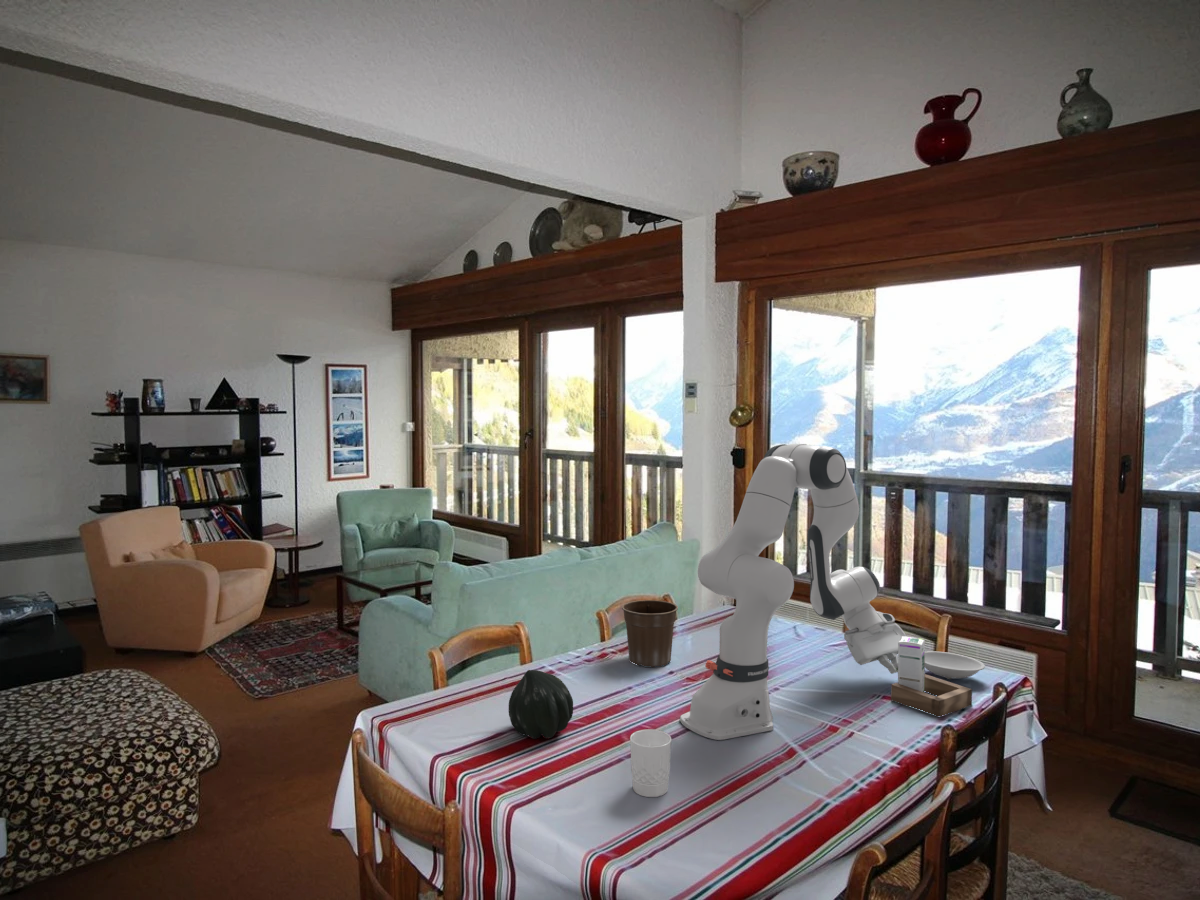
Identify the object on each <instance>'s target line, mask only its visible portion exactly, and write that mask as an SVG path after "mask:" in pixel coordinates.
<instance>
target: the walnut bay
mask: <svg viewBox="0 0 1200 900" xmlns="http://www.w3.org/2000/svg"><path fill="white" fill-rule="evenodd" d="M890 689H891V690H890V701H892V700H893V702H895V701H896V703H898V702H899V703H898V704H900V703H902V704H901V705H903V704H904V705H903V706H906V705H907V706H906V707H909V706H911V707H914V708H917V709H920V710H923V711H925V712H928V713H931V714H934V715H936V716H942V715H945V714H947V715H949V714H948V713H950V714H952V713H954V711H955V712H957V711H961V710H963V709H965V708H968V707H970V706H972V703H973V699H972V698H973V689H972V688H969V687H967V686H963V685H960V684H957V683H954V682H952V681H951V682H950V681H947V680H945V679H941V678H938V677H935V676H933V675H930V674H926V673H925V680H924V691H926V692H929V693H931V694H934V695H937V696H934V695H931V694H928V693H925V692H921V691H918V690H915V689H913V688H910V687H907V686H904V685H901V684H898V682H895V683H891V685H890ZM911 707H910V708H911ZM914 708H913V709H914ZM962 708H963V709H962ZM917 709H916V710H917ZM920 710H919V711H920ZM925 712H924V713H925ZM951 712H952V713H951ZM928 713H927V714H928ZM936 716H935V717H936ZM945 716H946V715H945ZM942 717H943V716H942Z"/></svg>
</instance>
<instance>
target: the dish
mask: <svg viewBox="0 0 1200 900" xmlns="http://www.w3.org/2000/svg"><path fill="white" fill-rule="evenodd" d="M985 668H986V665H985V663H983V662H982V661H980V660H978V659H975V658H973V657H970V656H966V655H962V654H958V653H953V652H947V651H946V652H945V651H938V650H937V651H935V650H929V651H926V650H925V669H926V670H927V671H929V672H930V673H933V674H934V675H937V676H940V677H943V678H944V679H946V678H947V679H946V680H952V679H967V678H970V677H972V676H974V675H976V674H977V673H979V672H980V671H983V670H984V669H985Z"/></svg>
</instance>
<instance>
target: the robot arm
mask: <svg viewBox="0 0 1200 900" xmlns="http://www.w3.org/2000/svg"><path fill="white" fill-rule="evenodd" d="M796 488H798V489H803V490H810V495H811V500H812V506H813V518H812V523H811V525H810V527H809V528H808V530H807V537H806V539H807V555H808V564H809V566H808V567H809V580H810V587H809V601H810V605H811V606H812V608H813V611H814V612H815V613H816V615H818V616H820V617H821V618H824V619H827V620H831V621H832V620H833V621H834V620H836V619H838V618H840V617H842V619H843V622H844V624H845V626H846V628H847V629H848V630H845V631H844V635H843V638H844V640H845V641H846V645H847V648H848V650H849V652H850V654H851V656H852V658H853V659H854V661H855V663H857V664H858V665H859V666H862V665H866V664H869V663H873V662H875V661H878V662H879V664H881V665H882V666H884V668H886V669H887V670H888V672H889V673H890V674H891V675H893V674H895V673H898V642H899V640H900V639H901V638H902V636H905V637H908V636H907V635H906V633H905V632H904V630H903V629H902V627H900V625H899V624H898V623H896V622H895V621H896V619H895V617H894V616H893V615H892V614H890V613H886V612H885V613H884V612H882V611H877V610H876V609H875V608H874V607H873V606H872V605H871V603H870V602H871V601H873V600H875V599H876V598H877V597H878V596H879V591H880V587H881V585H880V581H879V579H878V578H877V576H876V575H875V574H874V572H873V571H872V570H871V569H868V568H867V567H866V566H861V565H858V566H855V567H852V568H849V569H847V570H845V569H837V570H834V571H832V572H831V565H830V554H831V551H832V549H833V548H834V546H835V545H836V544H837V542H838V541H839V540H840V539H841V538H842V537H843V536H844V535H846V533H848V532H849V531H850V530H851V529H852V528H853V527H854V526H855V524H856V523H857V520H858V518H859V516H860V515H859V514H860V505H859V499H858V496H857V492H856V489H855V488H856V487H855V486H854V483H853V479H852V476H851V475H850V472H849V469H848V467H847V463H846V459H845V457H844V455H843V454H842V453H841V451H840V450H838V449H836V448H834V447H831V446H827V445H822V446H820V445H815V444H814V445H813V444H806V443H793V444H791V443H790V444H786V443H785V444H784V443H783V444H782V443H781V444H777V445H774V446H772V447H770V448H769V449H768V450H767V451H766V453H765V454H764V456H763V458H762V459H761V460H760V462H759V463H758V465H757V467H756V469H755V470H754V472H753V474H752V476H751V479H750V480H749V484H748V485H747V488H746V491H745V494H744V498H743V500H742V503H741V507H740V510H739V513H738V514H737V518H736V521H735V522H734V524H733V527H732V528H731V529H730V530H729V532H728V534H727V535H726V536H725V538H724V539H723V540H722V541H721V542H720V543H719V544H718V545H717V546H716V547H714V548H712V549H711V550H709V551H707V552H706V553H704V555H703V556H702V557H701V559H700V561H699V563H698V567H697V575H698V580H699V582H700V584H701V585H702V586H703V587H704V588H706V589H708V590H709V591H711V592H713V593H715V594H717V595H718V596H723V597H725V598H730V599H733V600H735V601H736V602H735V604H736V606H735V609H734V613H733V614H732V615H729V616H728V617H727V618H724V620H722V622H721V623H720V625H719V652H718V653H719V655H718V656H717V658H716V662H714V661H712V660H710V659H709V660H706V662H705V669H707V670H710V671H712V672H713V674H711V676H710V677H709V678H708V679H706V681H705V682H704V684H702V685H701V686H700V687H699V688H698V690H696V692H694V694H693V695H692V698H691V701H690V702H691V703H690V708H689V709H690V710H689V711H687V712H685V713H683V714H681V715H680V718H679V721H680V723H681V724H682V725H683V726H684V727H685V728H687V729H688V730H690V731H691V732H693V733H696V734H698V735H700V736H702V737H705V738H708V739H712V740H716V741H717V740H718V741H724V740H727V739H733V738H738V737H743V736H749V735H754V734H760V733H766V732H771V731H773V730H774V723H773V720H774V717H773V714H772V709H771V703H770V702H771V701H770V692H769V687H768V685H769V684H768V677H769V670H770V666H769V658H768V656H767V654H768V637H769V636H768V635H769V627H770V623H771V621H772V618H773V616H774V614H775V613H776V612H777V610H778V609H780V608H782V606H784V605H785V604H786V603H787V602H788V601H789V600H790V598H791V597H792V595H793V592H794V588H795V582H794V580H795V579H794V576H793V573H792V572H791V570H790V569H789V568H788V566H786V565H784V564H782V563H780V562H778V561H777V560H773V558H772V559H771V558H766V557H763V556H759V555H760V554H761V553H762V552H763V550H764V549H766V548H767V547H768V546H769V545H771V544H774V543H776V542H777V541H779V540H780V539H781V537H782V536H783V534H784V529H785V526H786V523H787V520H788V516H789V514H790V510H791V506H792V503H793V500H794V495H795V491H796Z"/></svg>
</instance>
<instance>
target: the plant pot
mask: <svg viewBox="0 0 1200 900" xmlns="http://www.w3.org/2000/svg"><path fill="white" fill-rule="evenodd" d="M678 608H679V607H678V605H676V604H675V603H673V602H669V601H665V600H657V599H653V600H652V599H643V600H642V599H641V600H633V601H629V602H626V603H623V604H622V605H621V609H622V610H623V615H624V616H623V618H624V622H625V627H626V629H625V630H626V637H627V649H628V660H630V661H631V662H633V663H635V664H637V665H638V666H640V665H641V666H643V667H644V666H651V667H650V668H656V667H655V666H660V667H663V666H662V665H664V666H666V664H667V665H668V662H670V661H672V648H673V639H674V637H673V636H674V628H675V627H674V625H675V622H676V616H677V611H678V610H679V609H678ZM630 661H629V662H630ZM631 662H630V663H631ZM670 663H671V662H670ZM637 665H636V666H637Z"/></svg>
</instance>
